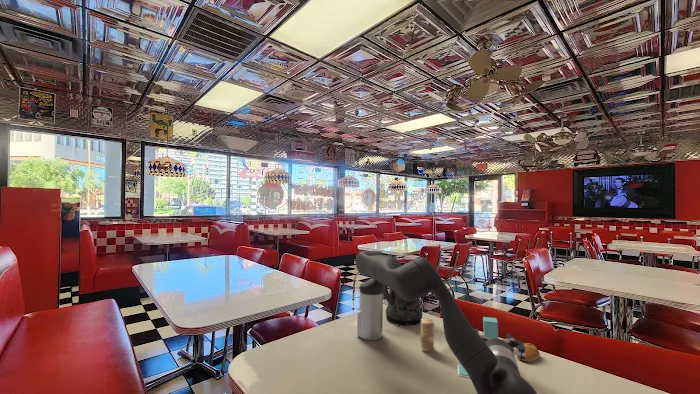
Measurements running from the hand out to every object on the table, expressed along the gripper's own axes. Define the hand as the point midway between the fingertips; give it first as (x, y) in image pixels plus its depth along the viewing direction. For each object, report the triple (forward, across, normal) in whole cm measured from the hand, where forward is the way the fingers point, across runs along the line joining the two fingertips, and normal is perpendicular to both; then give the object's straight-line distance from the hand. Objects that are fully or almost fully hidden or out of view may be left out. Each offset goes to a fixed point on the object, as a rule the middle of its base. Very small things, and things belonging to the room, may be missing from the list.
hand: (492, 333), depth 91 cm
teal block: (+11, -1, +10) cm, 15 cm away
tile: (+4, +6, +14) cm, 16 cm away
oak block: (+15, +20, +15) cm, 29 cm away
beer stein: (+39, +32, +16) cm, 53 cm away
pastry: (+22, -14, +15) cm, 30 cm away
